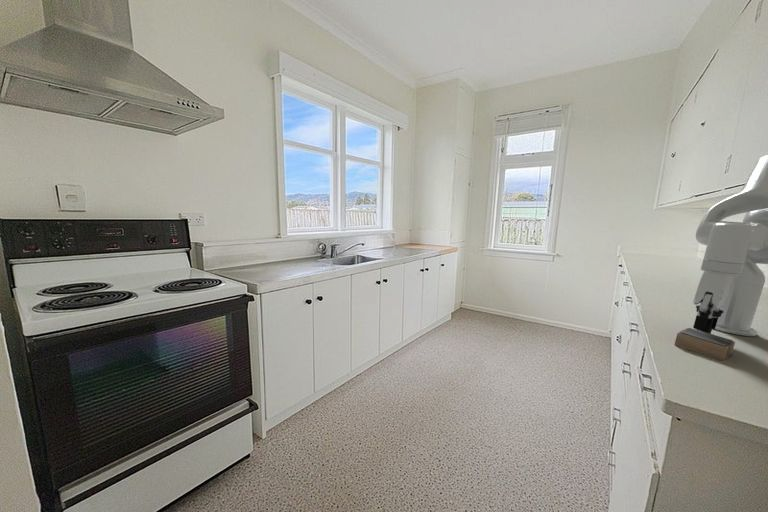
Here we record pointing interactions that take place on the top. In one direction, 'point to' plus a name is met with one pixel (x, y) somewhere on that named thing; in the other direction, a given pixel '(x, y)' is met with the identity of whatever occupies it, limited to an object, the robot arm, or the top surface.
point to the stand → (705, 343)
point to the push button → (716, 314)
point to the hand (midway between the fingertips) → (704, 328)
